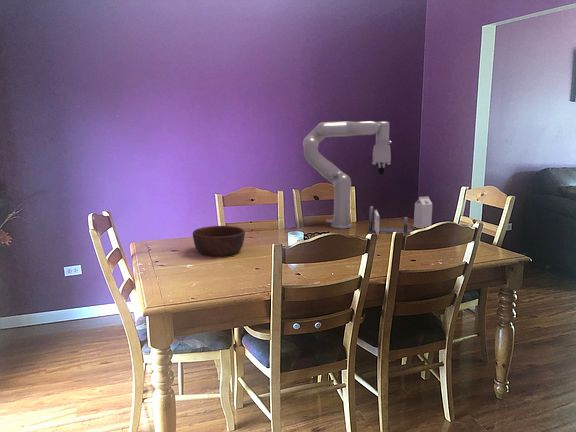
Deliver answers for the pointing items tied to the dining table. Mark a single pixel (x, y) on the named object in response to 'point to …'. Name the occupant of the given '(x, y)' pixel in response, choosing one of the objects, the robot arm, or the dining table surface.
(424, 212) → the milk carton
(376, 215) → the gate
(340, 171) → the robot arm
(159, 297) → the dining table surface
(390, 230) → the gate base
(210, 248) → the wooden bowl
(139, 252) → the dining table surface
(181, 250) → the dining table surface
